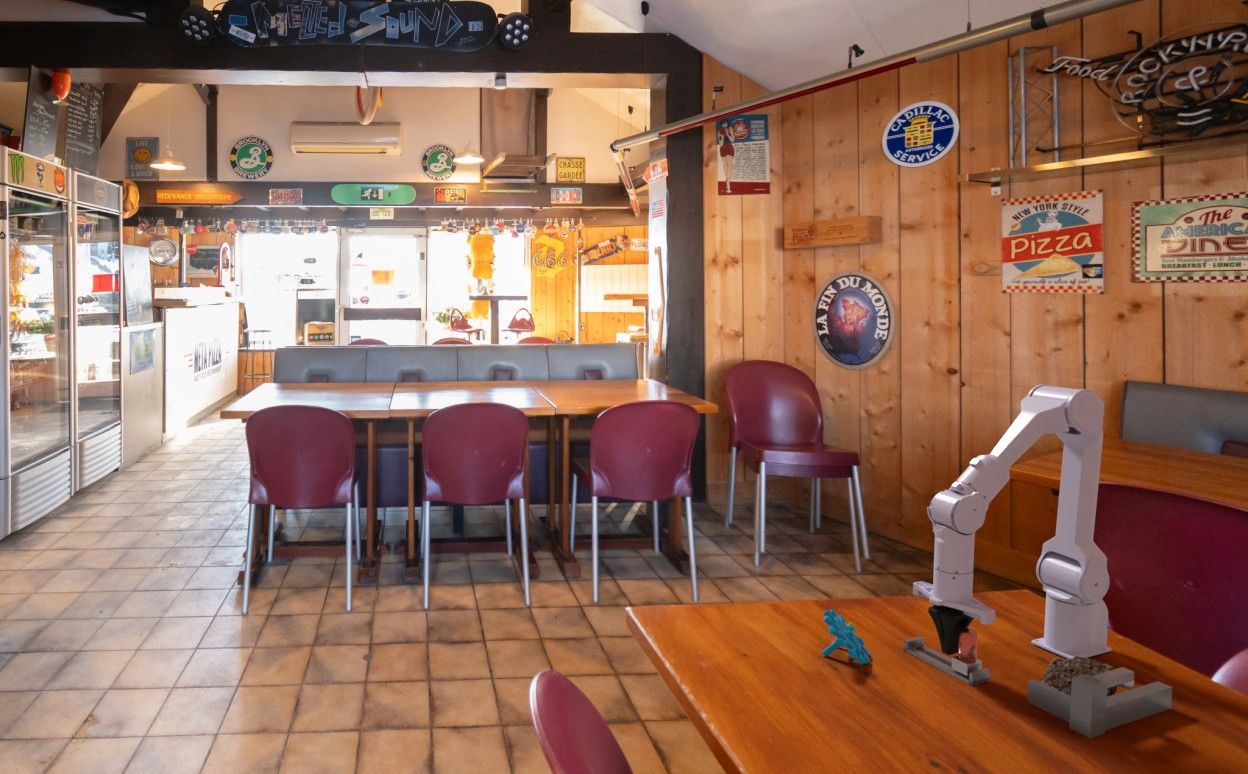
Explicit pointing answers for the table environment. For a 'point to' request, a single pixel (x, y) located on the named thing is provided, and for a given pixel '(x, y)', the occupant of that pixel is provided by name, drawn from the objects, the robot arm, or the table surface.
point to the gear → (845, 638)
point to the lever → (966, 653)
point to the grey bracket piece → (1101, 701)
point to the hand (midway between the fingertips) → (949, 652)
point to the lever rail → (943, 661)
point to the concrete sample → (1073, 673)
